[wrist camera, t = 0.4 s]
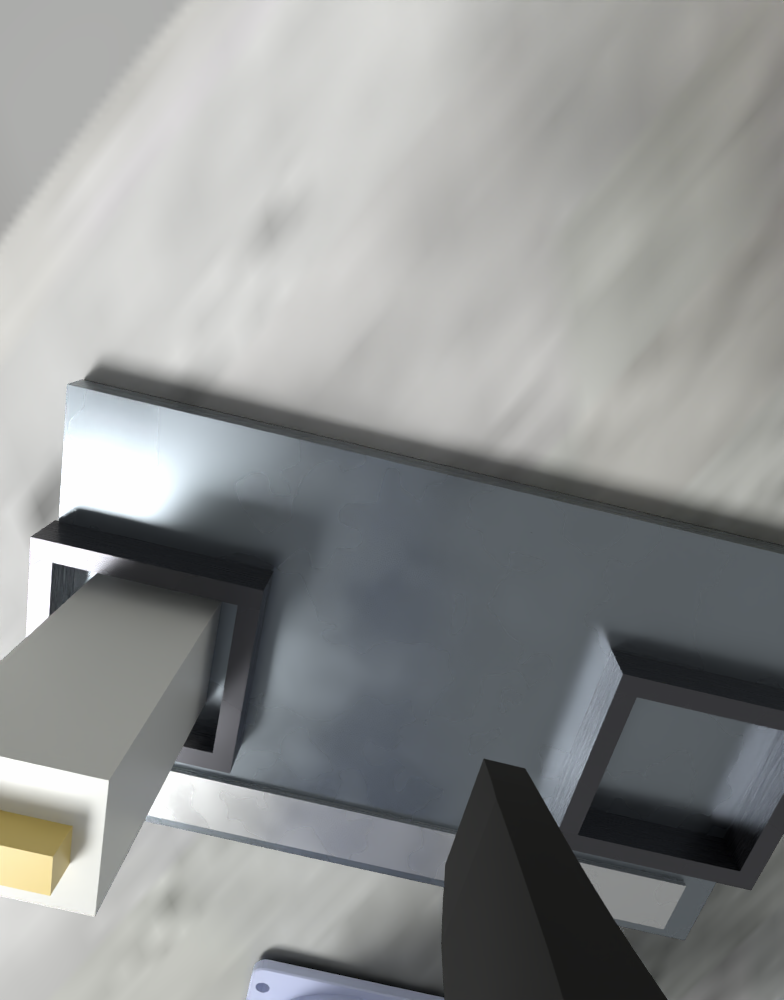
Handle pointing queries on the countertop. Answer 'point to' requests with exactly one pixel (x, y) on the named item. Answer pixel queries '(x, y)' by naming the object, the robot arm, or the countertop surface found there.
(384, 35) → the countertop surface
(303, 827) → the panel
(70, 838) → the white rectangular block
